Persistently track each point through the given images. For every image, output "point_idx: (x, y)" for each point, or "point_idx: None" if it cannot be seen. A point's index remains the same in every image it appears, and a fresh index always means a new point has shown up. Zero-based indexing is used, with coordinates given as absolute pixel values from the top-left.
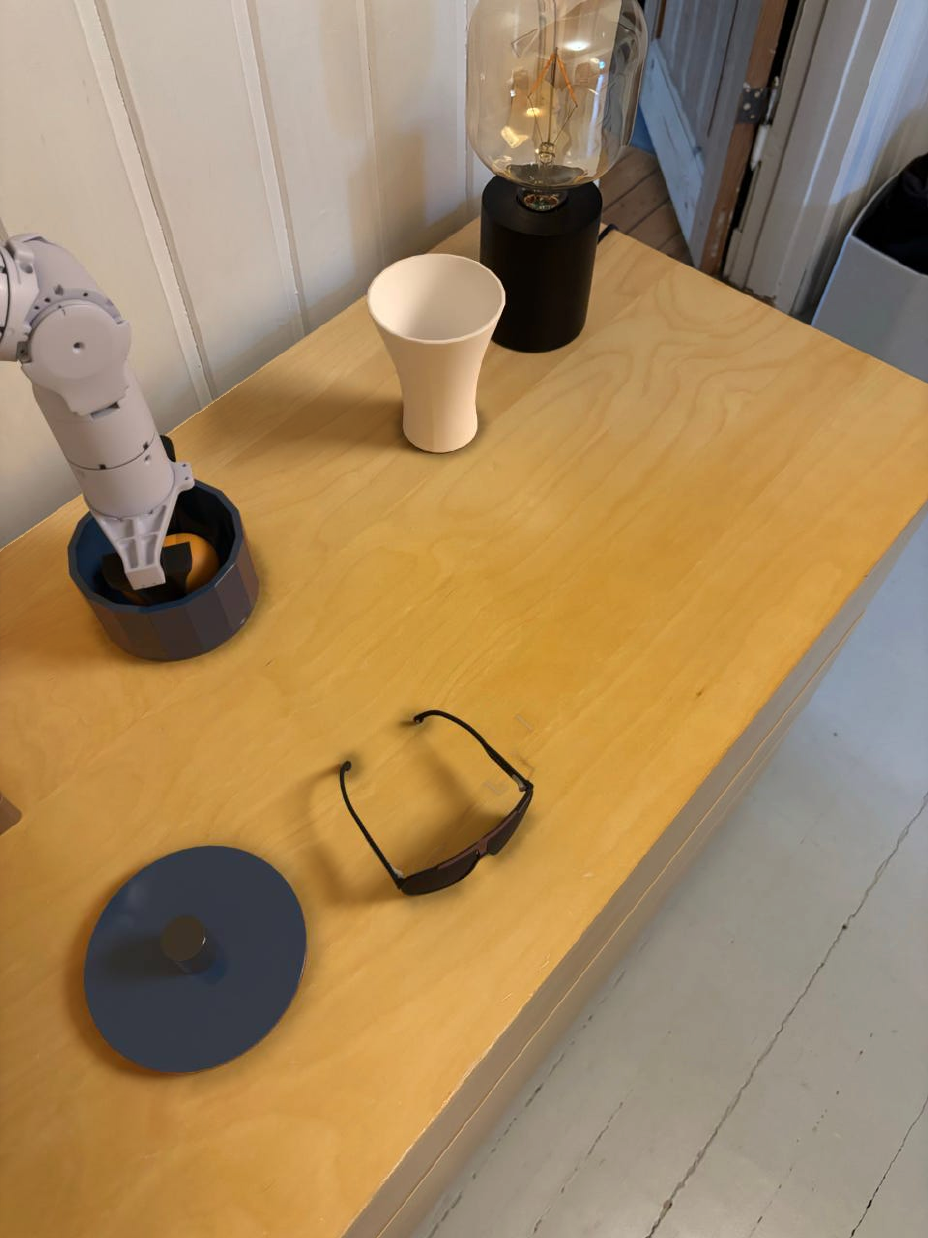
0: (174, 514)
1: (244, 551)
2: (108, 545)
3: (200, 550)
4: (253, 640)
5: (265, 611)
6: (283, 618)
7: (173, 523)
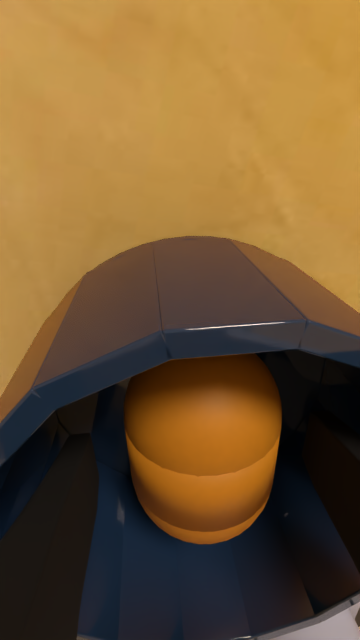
0: (80, 467)
1: (314, 306)
2: (107, 521)
3: (228, 411)
4: (343, 263)
5: (286, 230)
6: (320, 192)
7: (88, 448)
